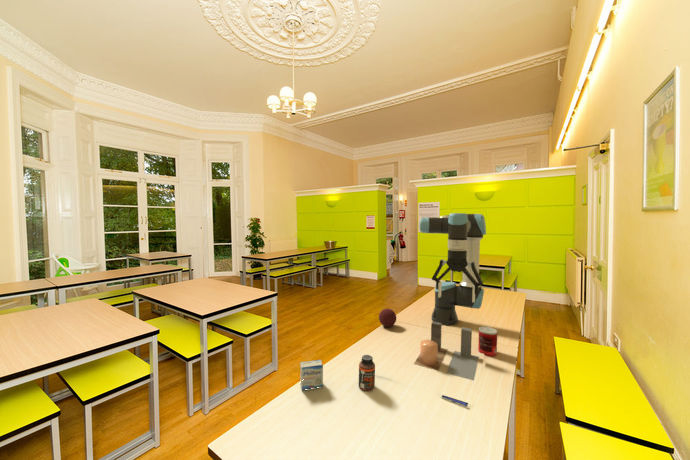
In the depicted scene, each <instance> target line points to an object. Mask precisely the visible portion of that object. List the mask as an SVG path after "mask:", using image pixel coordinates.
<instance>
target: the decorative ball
mask: <svg viewBox="0 0 690 460" xmlns="http://www.w3.org/2000/svg"><path fill="white" fill-rule="evenodd" d="M378 320H379V323H380V324H381V325H382V326H384V327H386V328H389V327H393V326H394V325H395V324H396V322H397V314H396V312H395V311H394V310H392V309H391V308H384V309H382V310H381V311H380V312H379V314H378Z"/></svg>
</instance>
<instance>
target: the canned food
mask: <svg viewBox="0 0 690 460" xmlns="http://www.w3.org/2000/svg"><path fill="white" fill-rule="evenodd" d="M477 347H478V352H479V353H480V354H483V355H484V356H486V357H490V358H491V357H495V356H497V353H498V351H497V349H498V330H497V329H495V328H493V327H491V326H480V327H478V345H477Z"/></svg>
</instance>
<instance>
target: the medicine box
mask: <svg viewBox="0 0 690 460" xmlns="http://www.w3.org/2000/svg"><path fill="white" fill-rule="evenodd" d="M299 363H300V364H299V367H300V371H299V372H300V374H299V377H300V378H299V381H301V383H300V390H301V389H302V390H305V389H311V388H316V389H318V388H317V387H322V388H323V387H324V365H323V362H322V359H317V360H309V361H301V362H299ZM303 379H304V380H303ZM302 380H303V381H302ZM302 390H301V391H302ZM311 390H312V389H311ZM305 391H306V390H305Z"/></svg>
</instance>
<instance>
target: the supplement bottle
mask: <svg viewBox="0 0 690 460" xmlns="http://www.w3.org/2000/svg"><path fill="white" fill-rule="evenodd" d="M373 359H374V357H373V356H372V355H370V354H364V355H362V356H361V360H360V361H359V364H358V388H360V390H362V391H364V392H370V391H373V390H375V389H374V388H375V381H376V364H375V362H374V361H373Z"/></svg>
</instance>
